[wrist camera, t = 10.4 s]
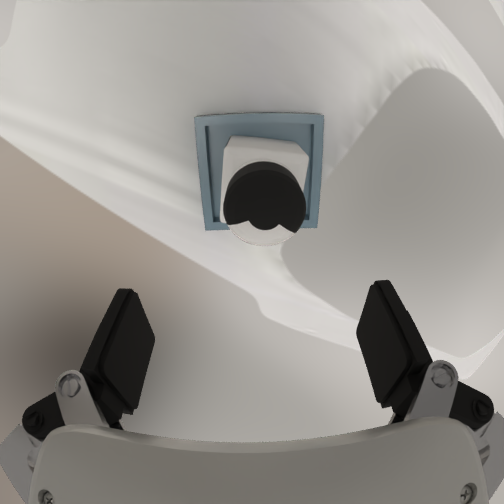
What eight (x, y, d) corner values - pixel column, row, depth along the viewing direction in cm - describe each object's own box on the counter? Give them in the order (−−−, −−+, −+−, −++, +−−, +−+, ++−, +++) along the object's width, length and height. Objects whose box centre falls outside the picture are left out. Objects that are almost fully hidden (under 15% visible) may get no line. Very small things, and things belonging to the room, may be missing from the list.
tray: (197, 116, 26) (194, 117, 25) (319, 113, 26) (323, 115, 24) (207, 222, 33) (205, 230, 32) (313, 220, 33) (317, 227, 31)
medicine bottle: (230, 134, 27) (216, 160, 17) (297, 141, 27) (324, 172, 17) (225, 195, 31) (212, 253, 21) (287, 201, 31) (305, 260, 21)
